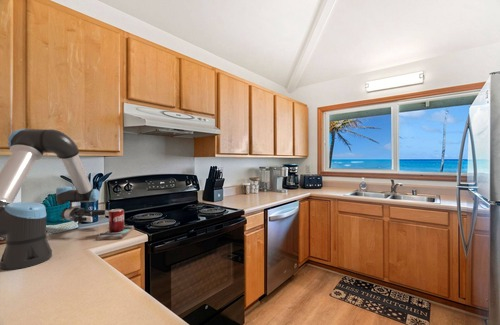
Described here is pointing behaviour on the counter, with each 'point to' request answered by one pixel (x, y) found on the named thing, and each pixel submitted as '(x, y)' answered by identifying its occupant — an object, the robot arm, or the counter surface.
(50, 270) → the counter surface
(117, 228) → the soda can
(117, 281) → the counter surface
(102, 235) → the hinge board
